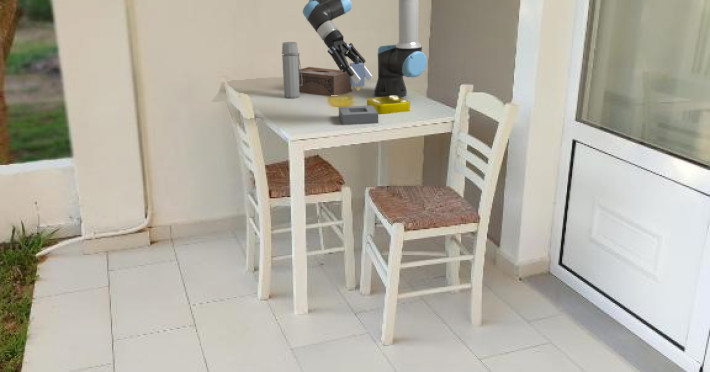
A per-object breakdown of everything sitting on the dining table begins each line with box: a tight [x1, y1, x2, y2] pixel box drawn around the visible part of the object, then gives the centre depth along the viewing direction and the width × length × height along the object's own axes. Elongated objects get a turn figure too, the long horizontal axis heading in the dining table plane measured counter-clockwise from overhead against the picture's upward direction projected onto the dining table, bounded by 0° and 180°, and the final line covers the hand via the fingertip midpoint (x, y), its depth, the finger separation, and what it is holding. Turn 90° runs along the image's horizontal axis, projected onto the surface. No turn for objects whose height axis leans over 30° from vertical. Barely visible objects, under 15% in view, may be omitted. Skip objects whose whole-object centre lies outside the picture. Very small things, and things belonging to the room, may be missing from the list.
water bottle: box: [281, 41, 303, 99], centre depth 305 cm, size 9×8×25 cm
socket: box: [338, 105, 379, 126], centre depth 264 cm, size 14×14×4 cm
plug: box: [349, 56, 366, 91], centre depth 259 cm, size 5×5×13 cm
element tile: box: [366, 96, 411, 115], centre depth 281 cm, size 15×15×5 cm
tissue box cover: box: [299, 66, 353, 97], centre depth 318 cm, size 26×14×10 cm, turn 55°
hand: (364, 80), depth 258 cm, fingers closed on plug, 7 cm apart
